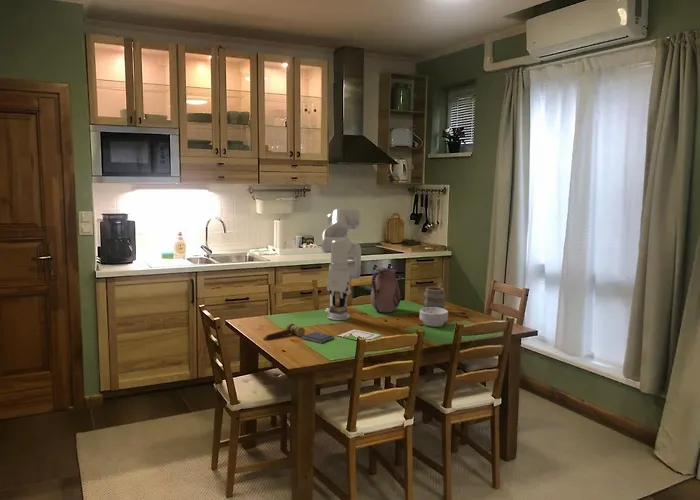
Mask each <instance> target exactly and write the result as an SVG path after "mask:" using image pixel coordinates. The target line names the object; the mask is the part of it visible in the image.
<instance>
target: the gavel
mask: <svg viewBox="0 0 700 500" xmlns="http://www.w3.org/2000/svg"><path fill="white" fill-rule="evenodd" d="M305 333H306V330H305V328H304V327H302V326H298V325H296V324H294V323H292V322H291V323H288V324H287V325H286V329H285V330H281V331H280V330H279V331H276V332H274V333H270V334H267V335H266V336H264V337H262V339H263V340H265V341H268V340H273V339H277V338H281V337H284V336H289V335H290V334H294V335H296V336H297V337H302V336H304V335H305Z"/></svg>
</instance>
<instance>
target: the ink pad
mask: <svg viewBox="0 0 700 500" xmlns="http://www.w3.org/2000/svg"><path fill="white" fill-rule="evenodd" d="M333 338H334V339H335V336H334V335H330V334H328V333H322V332H319V331H318V332H317V331H314V332H311V333H307V334H304V335H303V336H301V339H302V340H306V341H310V342H314V343H318V342H320V343H319V344H323V343H322V342H324V343H326V342H328V341H327V340H329V341H331V340H330V339H332V340H334V339H333ZM325 341H326V342H325Z"/></svg>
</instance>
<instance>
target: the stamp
mask: <svg viewBox="0 0 700 500" xmlns="http://www.w3.org/2000/svg"><path fill="white" fill-rule="evenodd" d="M340 298H341V295H340V292H336V291H335V305H332V306H330V305H329V308H330V310H329V312H330V313H335V314H343V313H346V312H347V313H348V312H349V311H348V310H349V309H348V305H347V306H346V305H345V306H342V307H340Z"/></svg>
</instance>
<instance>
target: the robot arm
mask: <svg viewBox="0 0 700 500" xmlns="http://www.w3.org/2000/svg"><path fill="white" fill-rule="evenodd" d="M361 218H362V217H361V213H360V211H359V209H357V208H352V207H351V208H349V207H347V208H346V207H342V208H340V207H339V208H335V209H334V210H333V211H332V212H331V213H328V214H327V216H326V222H327V226H328V227H327V228H325V229H324V230H323V232H322V235H321V242H320V243H321V245H320V247H321V248H320V249H321V251H322V252H323V253H325V254H331V255H330V259H331V260H330V262H329V267H328V273H327V283H326V285H327V286H326V290H327V291H328V292H329V294H330V295H329V308H328V307H326V308H325V310H324V312H325V313H328V314H327V319H329V320H332V321H345V320H348V319H349V320H350V318H351V316H350V314H349V313H348V312H346V313H343V314H335V313H330V312H329V310H330V306H332V305H335V291H336V292H340V295H341V298H340V307H342V306H345V305H346V306H347V307H348V295H351V294H352V290H351V288H350V287H351V282H350V281H351V280H353V279H354V280H355V279H359V278H360V276H361V273H362V248H361V245H360V244H359V243H358V242H355V241H352V240H351V239H350V238H349V237H348V232H349V230H357V229H359V227H360V226H361ZM348 260H351V261H348Z"/></svg>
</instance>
